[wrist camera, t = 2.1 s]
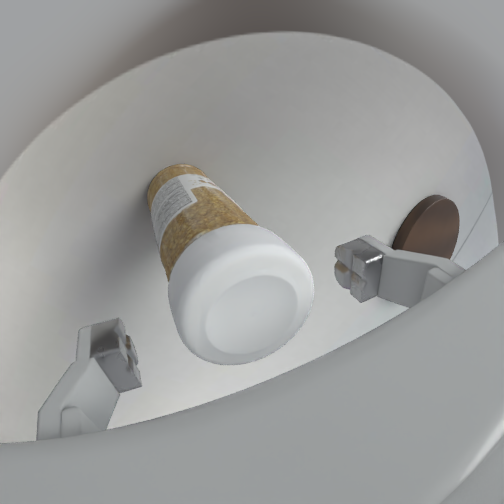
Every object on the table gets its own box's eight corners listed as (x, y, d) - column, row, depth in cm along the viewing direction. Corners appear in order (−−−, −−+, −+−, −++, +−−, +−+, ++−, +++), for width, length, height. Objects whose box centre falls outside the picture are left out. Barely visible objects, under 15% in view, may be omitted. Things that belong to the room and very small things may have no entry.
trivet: (394, 206, 28) (404, 211, 27) (457, 187, 32) (466, 190, 31) (380, 307, 36) (387, 314, 34) (440, 272, 39) (447, 277, 38)
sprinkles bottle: (223, 191, 21) (340, 298, 10) (179, 237, 21) (248, 384, 10) (178, 148, 18) (262, 214, 7) (131, 199, 19) (144, 338, 8)
